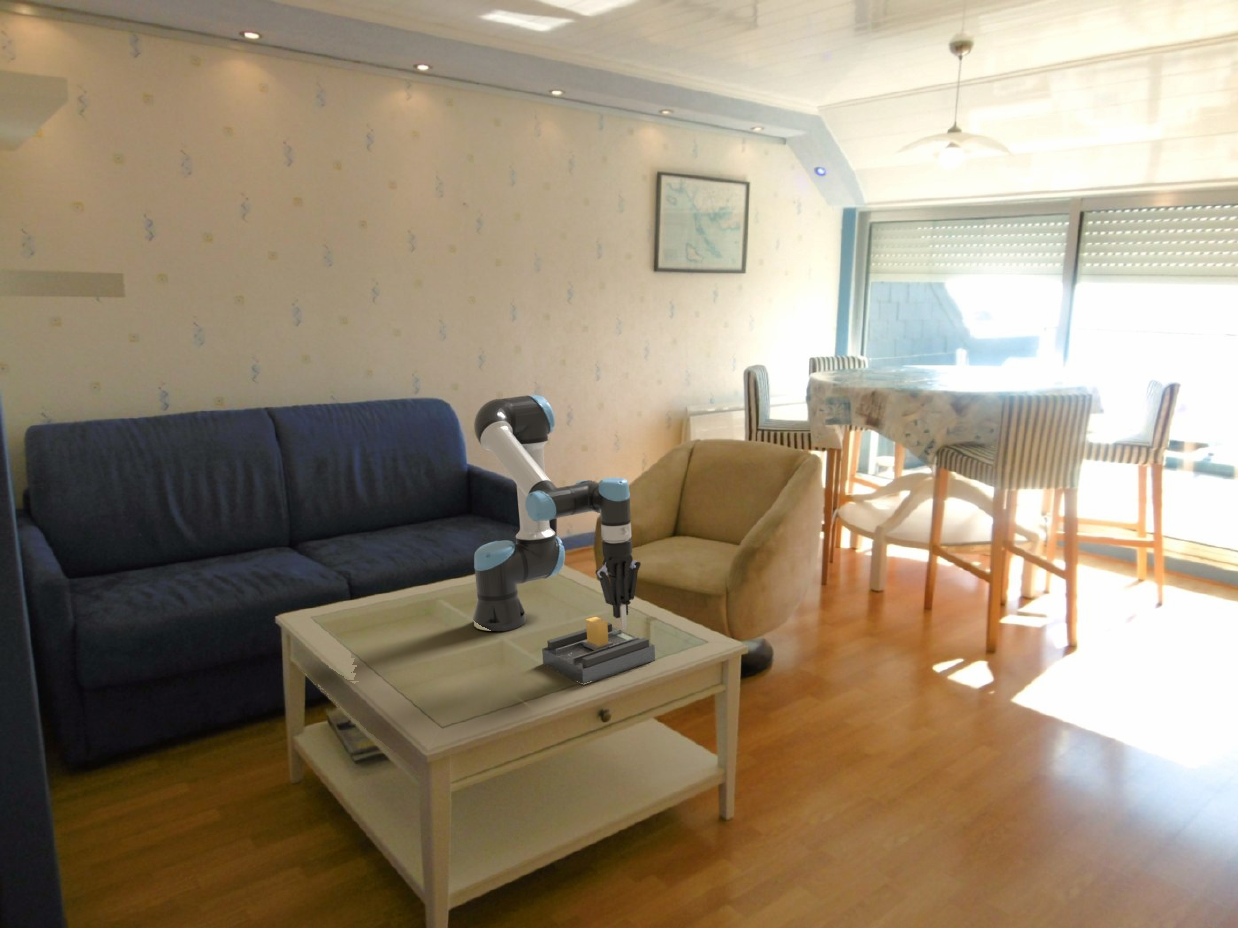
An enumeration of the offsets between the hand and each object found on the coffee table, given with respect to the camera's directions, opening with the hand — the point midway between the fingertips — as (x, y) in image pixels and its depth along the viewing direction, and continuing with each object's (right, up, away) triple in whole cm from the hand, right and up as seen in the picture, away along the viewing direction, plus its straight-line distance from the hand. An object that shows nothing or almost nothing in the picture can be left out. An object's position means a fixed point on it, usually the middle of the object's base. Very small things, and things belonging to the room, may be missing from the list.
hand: (621, 628), depth 225 cm
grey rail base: (-6, -8, -3) cm, 10 cm away
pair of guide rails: (-6, -4, -4) cm, 8 cm away
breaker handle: (-6, -4, -4) cm, 8 cm away
